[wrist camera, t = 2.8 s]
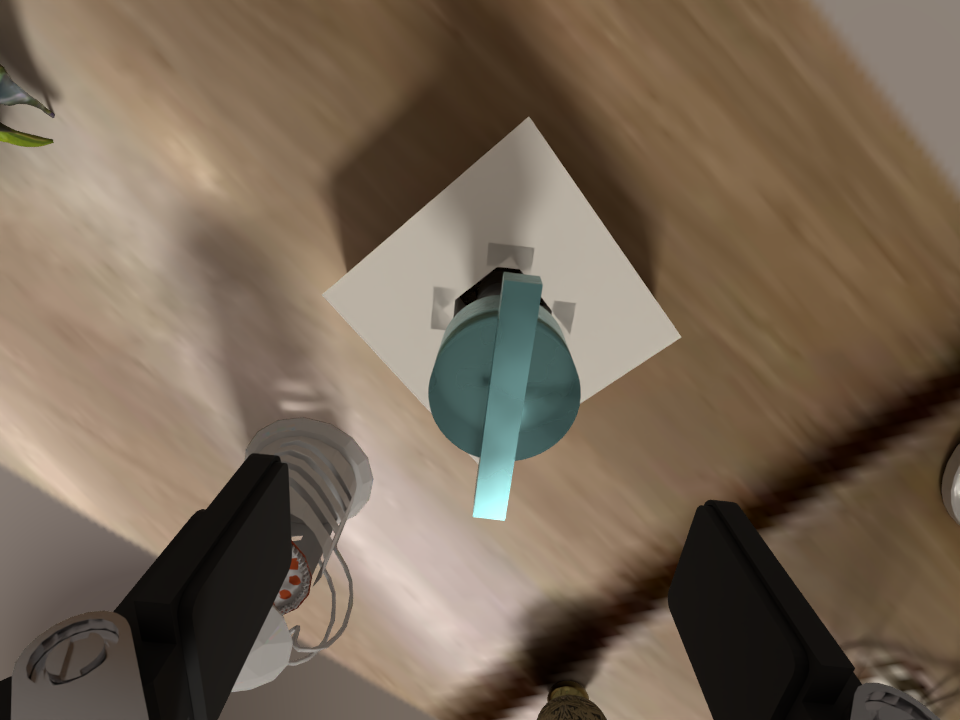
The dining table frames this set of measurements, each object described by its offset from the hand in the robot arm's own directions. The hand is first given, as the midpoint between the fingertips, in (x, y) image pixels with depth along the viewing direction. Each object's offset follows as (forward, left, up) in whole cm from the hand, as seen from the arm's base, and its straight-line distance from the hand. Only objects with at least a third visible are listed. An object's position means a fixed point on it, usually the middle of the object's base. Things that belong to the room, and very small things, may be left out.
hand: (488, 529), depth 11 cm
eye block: (0, 0, -22) cm, 22 cm away
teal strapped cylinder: (0, 0, -22) cm, 22 cm away
